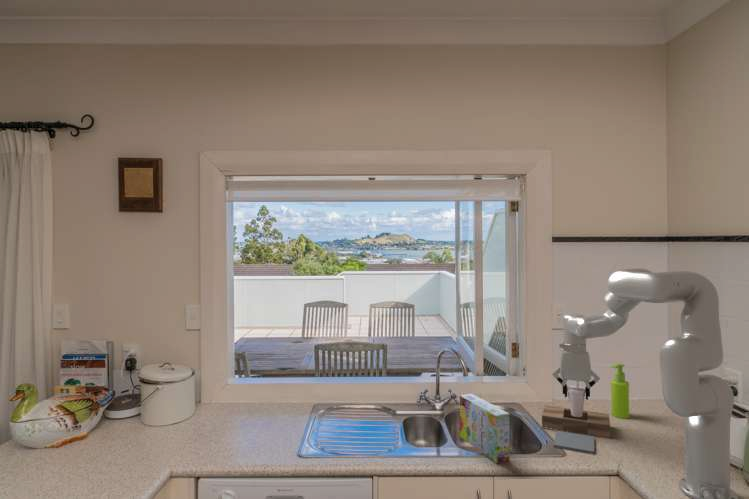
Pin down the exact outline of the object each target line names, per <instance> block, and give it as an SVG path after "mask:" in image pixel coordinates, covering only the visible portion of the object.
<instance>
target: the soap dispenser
mask: <svg viewBox="0 0 749 499" xmlns="http://www.w3.org/2000/svg"><path fill="white" fill-rule="evenodd" d="M610 367H611V368H614V369H617V370H616V371H615V372H614V379H613V380H611V383H610V384H611V386H610V387H611V388H610V389H611V415H612V417H614V418H617V419H629V418H630V383H629V382H628V381H626V373H625V372H623V368H624V367H625V364H622V363H615V364H612V365H611V366H610Z"/></svg>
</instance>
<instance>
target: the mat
mask: <svg viewBox="0 0 749 499" xmlns="http://www.w3.org/2000/svg"><path fill="white" fill-rule="evenodd" d="M553 448H558V449H561V450H562V449H563V450H569V451H575V452H580V453H586V454H592V455H595V436H591V435H585V434H578V433H572V432H566V431H559V430H555V437H554V442H553Z"/></svg>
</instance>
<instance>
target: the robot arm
mask: <svg viewBox="0 0 749 499" xmlns="http://www.w3.org/2000/svg"><path fill="white" fill-rule="evenodd" d="M607 288H608V292H607V293H605V295H604V298H603V300H604V304H605V306H606V307H607V308H608V310H606V311H605V312H604V313H603V314H599V315H598V314H597V315H589V316H584V314H580V313H567V314H564V315H563V317H562V329H563V330H562V334H563V335H562V336H563V340H562V341H563V342H562V343H559V349H560V348H561V349H563V350H561V353H560V364H559V366H560V367H558V368H557V369H556V370H555V371H553V373H552V376H553V377H554V379H556V380H557V381H558V383H559V384H560V385H561V386H562V394H563V395H564V398H567V397H568V391H567V387H568V384H567V382H568V381H576V382H577V381H578V382H584V384H585V390H586V393H585V400H589V398H591V390H590V389H591V388H592V387H593V386H595V385H596V383H598V382H599V381H600V380H601V379H600V376H599V375H597V374H596V373H595V372H594V370H592V366H591V364H592V363H591V357H590V354H589V352H588V351H587V340H588V339H595V338H604V337H609V336H612V335H613V334H615V333H617V331H619V330H620V329H621V328H622V327H624V326H625V325H626V323H627V321H628V319H629V314H630V312H631V311H632V310H633V309H635V308H636V307H637V306H638V305H640V303H642V302H643V303H644V302H645V303H650V304H666V303H677V302H678V303H679V302H683V304H684V306H683V308H682V311H681V313H680V327H681V335H679V336H676V337H671V338H669V339H666V340H665V341H664V343H663V344H662V345H661V347H660V351H659V369H660V378H661V390H662V397H663V400H664V402H665V404H666V406H667V407H668V409H669V410H670V411H671V412H672V413H674V414H675V415H677V416H680V417H683V418H685V421H684V422H685V424H684V426H685V428H684V430H685V431H684V438H685V440H684V442H685V443H684V444H685V445H684V446H685V448H684V449H685V450H684V451H685V453H684V454H685V476H684V477H681V478H680V479H679V481H678V488H679V489H680V491H681V492H682V493H684V494H685V495H686V496H688V497H689V498H692V499H739V496H738V494H737V493H736V492H735V490H733V489H732V488H731V422H732V421H731V419H732V414H733V408H734V403H735V396H734V392H733V389H732V388H731V386H730V384H729V383H728V382H727V381H726V380H725V379H723V378H722V377H720V376H718V375H714V374H705V373H704V374H699V373H702V372H706V371H707V372H708V371H711V370H714V369H717V368H719V367H720V366H721V365H722V363H723V360H724V350H723V340H722V331H721V322H720V302H719V301H720V300H719V293H718V291H717V289H716V287H715V285H714V283H712V281H710V280H709V279H708V278H707V277H705V276H704V275H702V274H699V273H697V272H693V271H688V270H687V271H685V270H675V271H659V272H652V271H650V270H649V269H646V268H622V269H617V270H615V271H614V272H612V273H611V274H610V276H609V278H608V279H607ZM559 374H560V376H559ZM592 378H593V379H592Z"/></svg>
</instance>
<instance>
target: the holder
mask: <svg viewBox="0 0 749 499" xmlns="http://www.w3.org/2000/svg"><path fill="white" fill-rule="evenodd" d="M542 427H547V428H552V429H551V430H553V429H557V430H556V431H559V430H563V431H562V432H566V431H568V433H572V432H573V433H575V434H581V435H587V436H594V437H598V438H599V437H600V438H604V439H605V438H606V439H611V422H610V414H609V413H605V412H604V413H603V412H598V411H597V412H596V411H590V410H589V411H588V410H583V416H582V417H574V416H572V415H571V409H570V408H567V407H560V406H552V405H547V404H546V405H544V406H543V410H542V415H541V428H542ZM547 428H546V429H547Z"/></svg>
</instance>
